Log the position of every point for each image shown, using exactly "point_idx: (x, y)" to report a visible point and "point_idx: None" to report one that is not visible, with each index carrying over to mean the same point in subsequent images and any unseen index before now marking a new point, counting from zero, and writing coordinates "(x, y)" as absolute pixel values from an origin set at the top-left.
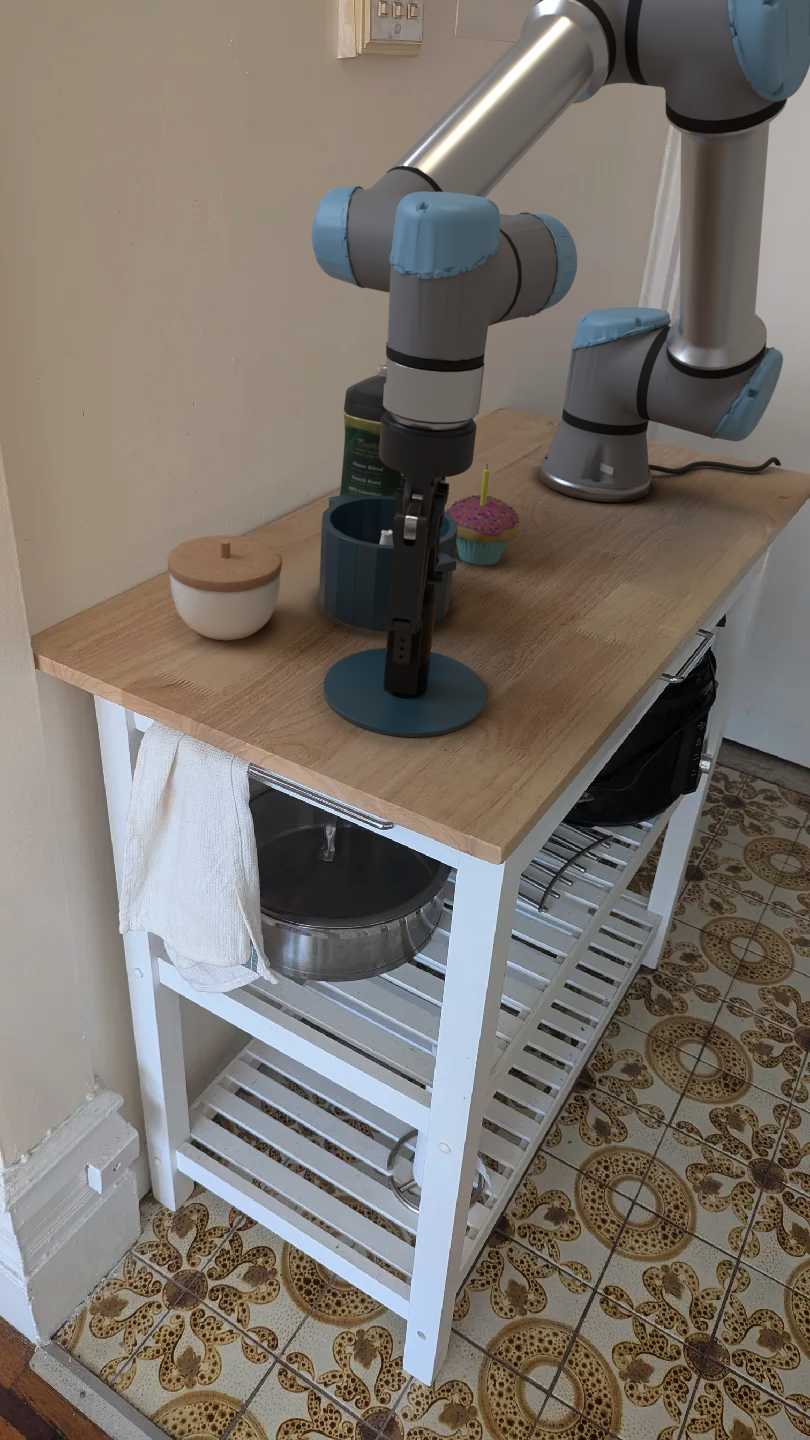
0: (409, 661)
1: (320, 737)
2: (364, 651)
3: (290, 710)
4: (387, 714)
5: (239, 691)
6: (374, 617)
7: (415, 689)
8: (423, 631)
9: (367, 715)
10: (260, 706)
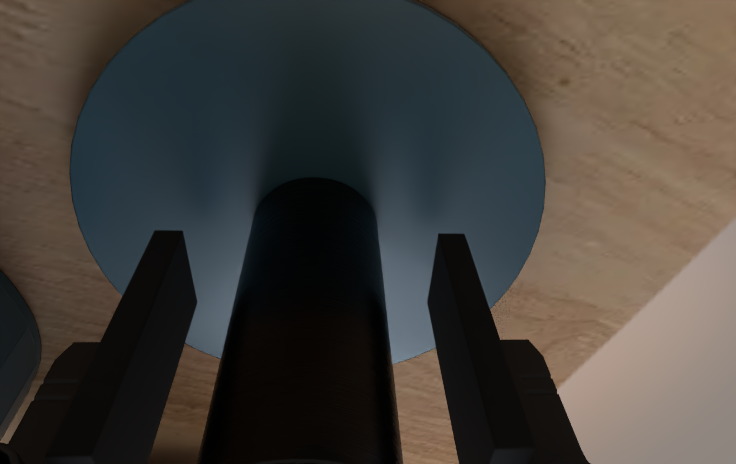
0: (530, 351)
1: (516, 330)
2: None
3: (425, 383)
4: None
5: None
6: (7, 353)
7: (466, 244)
8: (375, 372)
9: None
10: (421, 417)
